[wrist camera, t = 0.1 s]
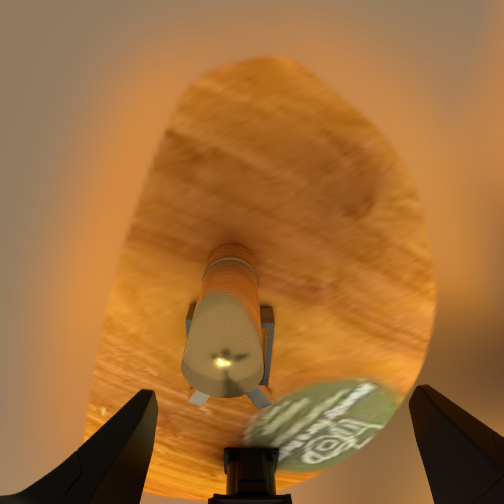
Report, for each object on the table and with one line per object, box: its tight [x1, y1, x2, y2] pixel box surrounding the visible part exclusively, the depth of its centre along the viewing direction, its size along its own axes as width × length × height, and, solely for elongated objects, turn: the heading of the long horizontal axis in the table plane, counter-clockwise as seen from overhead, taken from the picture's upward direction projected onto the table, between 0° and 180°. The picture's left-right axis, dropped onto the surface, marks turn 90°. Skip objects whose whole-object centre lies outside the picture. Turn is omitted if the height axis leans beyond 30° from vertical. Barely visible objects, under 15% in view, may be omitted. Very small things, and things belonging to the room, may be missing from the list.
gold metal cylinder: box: [181, 244, 264, 398], centre depth 18 cm, size 4×4×11 cm
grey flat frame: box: [186, 304, 275, 409], centre depth 25 cm, size 11×8×2 cm
